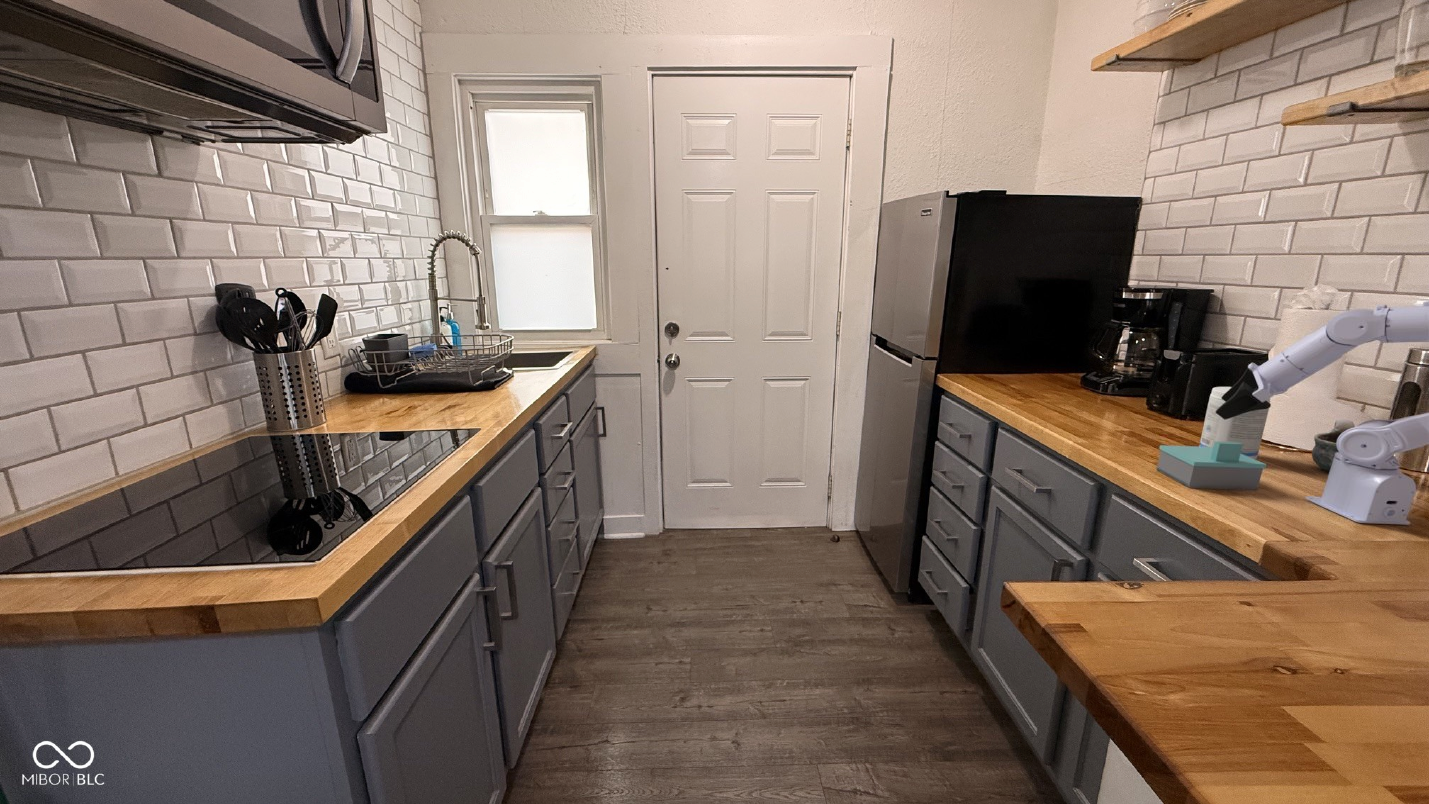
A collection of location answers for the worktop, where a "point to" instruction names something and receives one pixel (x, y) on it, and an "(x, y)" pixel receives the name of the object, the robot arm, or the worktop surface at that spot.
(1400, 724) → the worktop surface
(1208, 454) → the lid
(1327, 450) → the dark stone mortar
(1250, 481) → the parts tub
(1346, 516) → the robot arm
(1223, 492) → the worktop surface
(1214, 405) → the supplement tub
